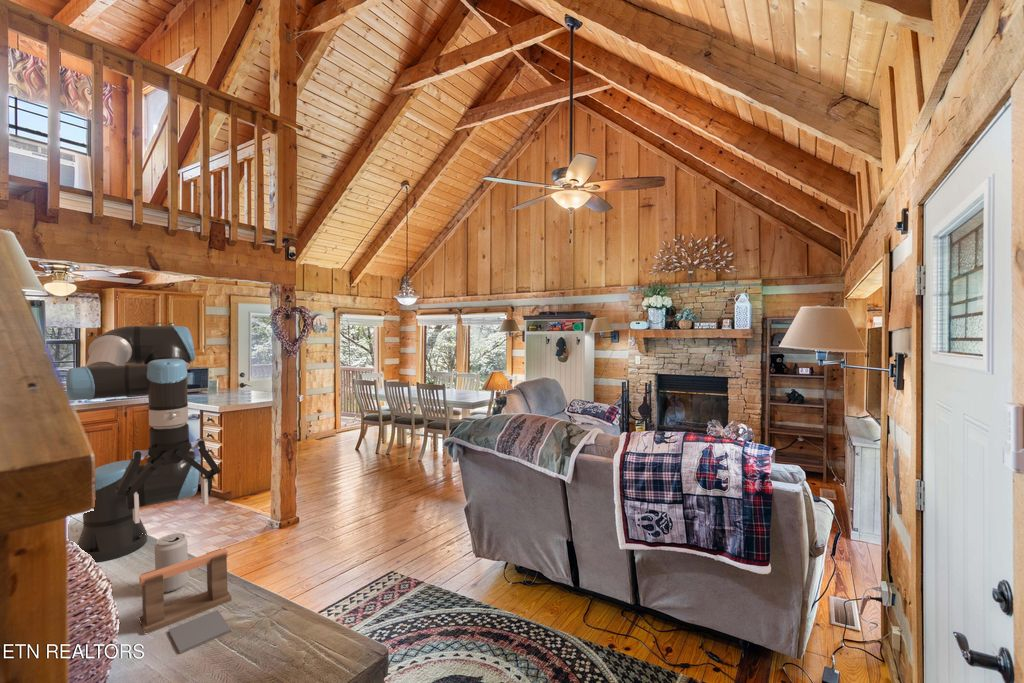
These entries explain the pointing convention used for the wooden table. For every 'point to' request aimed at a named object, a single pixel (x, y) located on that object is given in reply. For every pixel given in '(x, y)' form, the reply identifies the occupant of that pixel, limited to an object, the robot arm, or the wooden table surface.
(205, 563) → the crossbar
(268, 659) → the wooden table surface
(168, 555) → the beverage can
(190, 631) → the rubber mat
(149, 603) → the walnut stand
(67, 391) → the robot arm
